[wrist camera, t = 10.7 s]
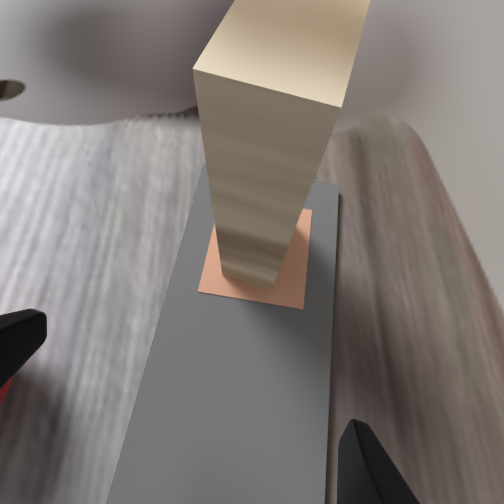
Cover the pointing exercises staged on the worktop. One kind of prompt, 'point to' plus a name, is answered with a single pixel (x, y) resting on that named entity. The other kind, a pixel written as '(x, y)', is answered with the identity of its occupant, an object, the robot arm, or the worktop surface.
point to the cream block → (270, 119)
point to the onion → (4, 390)
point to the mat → (237, 374)
